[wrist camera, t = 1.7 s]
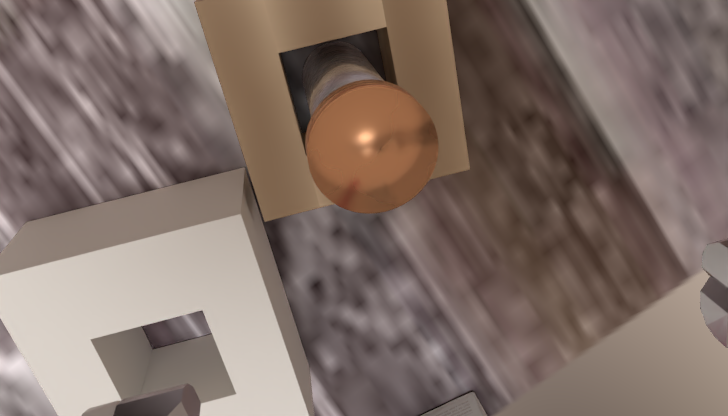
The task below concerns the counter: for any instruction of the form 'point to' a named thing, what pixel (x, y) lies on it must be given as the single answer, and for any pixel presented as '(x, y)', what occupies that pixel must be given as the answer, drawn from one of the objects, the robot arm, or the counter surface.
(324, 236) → the counter surface
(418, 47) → the mount
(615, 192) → the counter surface
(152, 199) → the dock
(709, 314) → the robot arm
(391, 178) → the pin
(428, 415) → the supplement box
